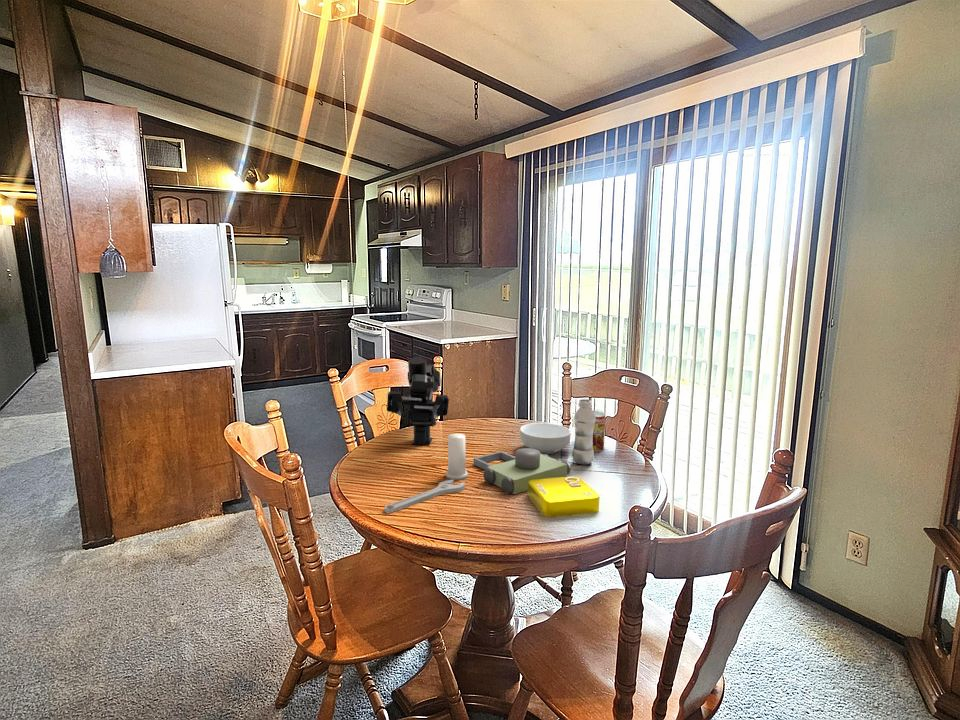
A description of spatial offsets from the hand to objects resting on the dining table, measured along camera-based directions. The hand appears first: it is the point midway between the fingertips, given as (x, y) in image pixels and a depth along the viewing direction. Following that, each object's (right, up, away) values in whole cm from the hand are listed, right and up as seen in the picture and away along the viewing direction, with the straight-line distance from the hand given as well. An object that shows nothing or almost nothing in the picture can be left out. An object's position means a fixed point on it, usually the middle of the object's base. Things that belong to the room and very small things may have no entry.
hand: (417, 416), depth 160 cm
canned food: (+56, -13, +23) cm, 62 cm away
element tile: (+40, -21, -20) cm, 49 cm away
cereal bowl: (+40, -14, +21) cm, 47 cm away
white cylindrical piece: (+12, -17, -2) cm, 21 cm away
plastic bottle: (+50, -16, +8) cm, 53 cm away
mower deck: (+28, -17, 0) cm, 33 cm away
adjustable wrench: (+4, -20, -17) cm, 27 cm away
